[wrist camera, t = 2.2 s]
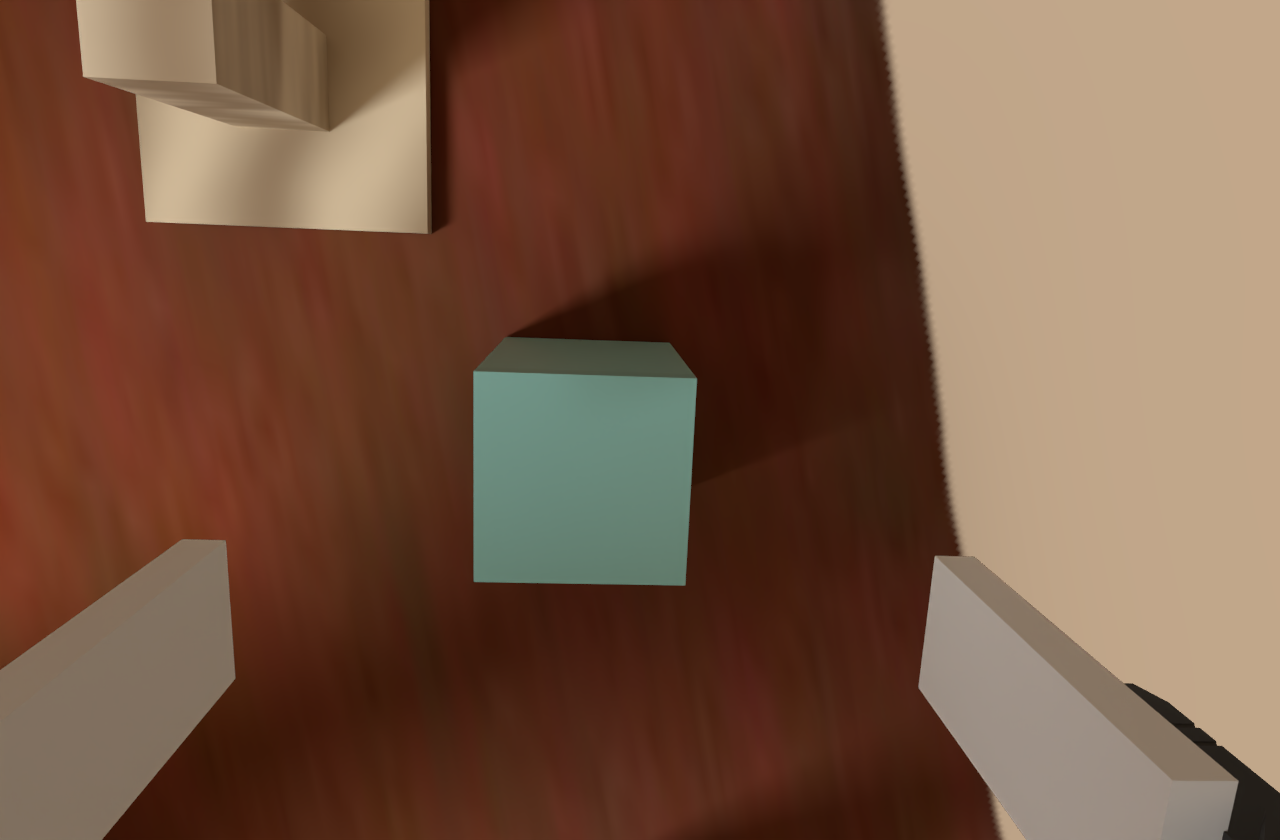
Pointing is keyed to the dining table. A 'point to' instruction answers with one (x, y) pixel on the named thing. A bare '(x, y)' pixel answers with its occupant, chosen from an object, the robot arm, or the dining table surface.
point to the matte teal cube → (582, 462)
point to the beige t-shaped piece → (274, 108)
